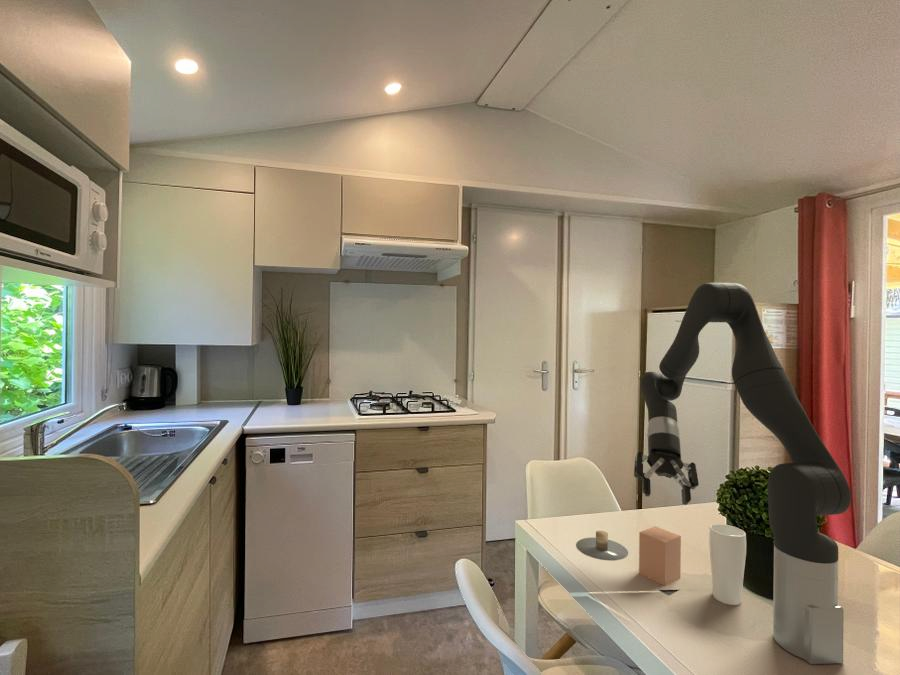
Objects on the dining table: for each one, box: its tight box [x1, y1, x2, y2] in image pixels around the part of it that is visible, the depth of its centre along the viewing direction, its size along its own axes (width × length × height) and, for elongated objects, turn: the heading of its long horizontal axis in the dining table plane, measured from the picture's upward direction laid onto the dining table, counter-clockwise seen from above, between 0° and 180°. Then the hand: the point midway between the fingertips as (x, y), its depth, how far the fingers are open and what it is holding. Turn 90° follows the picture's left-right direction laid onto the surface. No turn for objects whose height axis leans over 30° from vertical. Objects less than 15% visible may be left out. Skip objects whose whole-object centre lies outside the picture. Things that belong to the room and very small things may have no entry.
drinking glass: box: [708, 523, 747, 606], centre depth 96 cm, size 7×7×15 cm
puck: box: [595, 530, 609, 551], centre depth 118 cm, size 3×3×4 cm
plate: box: [575, 537, 629, 561], centre depth 118 cm, size 13×13×1 cm
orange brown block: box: [638, 525, 682, 586], centre depth 105 cm, size 6×6×10 cm
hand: (666, 499), depth 107 cm, fingers open, 8 cm apart
